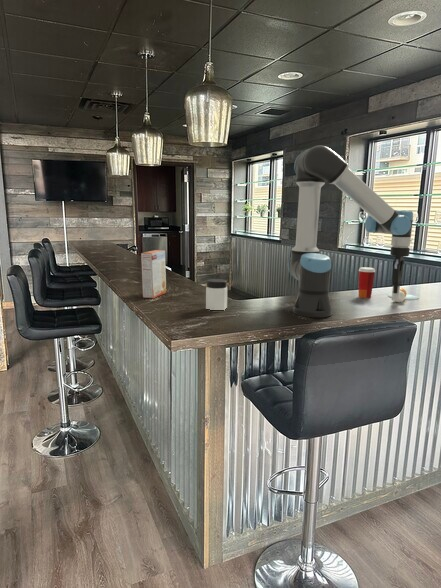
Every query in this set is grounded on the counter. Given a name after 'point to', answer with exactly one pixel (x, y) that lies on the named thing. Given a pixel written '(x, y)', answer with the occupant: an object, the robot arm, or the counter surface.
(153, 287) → the cracker box
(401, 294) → the cue ball
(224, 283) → the jar
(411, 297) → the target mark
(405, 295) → the object ball
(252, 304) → the counter surface
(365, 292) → the paper cup
